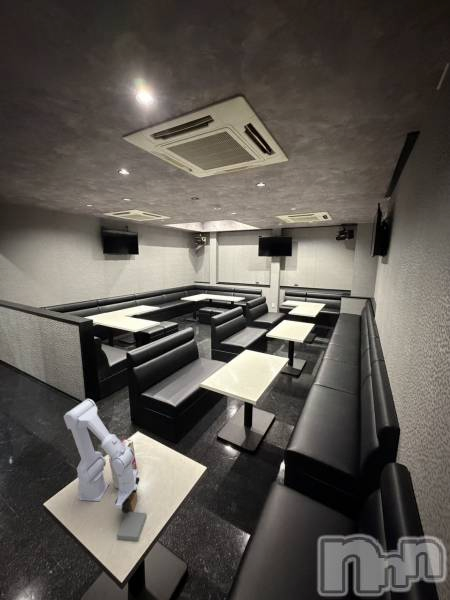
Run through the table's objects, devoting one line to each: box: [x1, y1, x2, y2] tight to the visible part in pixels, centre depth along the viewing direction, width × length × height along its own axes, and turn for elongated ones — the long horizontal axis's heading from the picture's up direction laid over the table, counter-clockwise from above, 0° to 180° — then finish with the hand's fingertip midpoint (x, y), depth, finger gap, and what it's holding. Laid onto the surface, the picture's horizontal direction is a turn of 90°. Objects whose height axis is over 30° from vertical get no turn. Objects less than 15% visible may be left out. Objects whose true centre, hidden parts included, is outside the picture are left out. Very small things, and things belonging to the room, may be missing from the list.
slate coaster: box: [116, 511, 147, 542], centre depth 91 cm, size 8×8×3 cm
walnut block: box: [121, 492, 138, 513], centre depth 98 cm, size 4×4×5 cm
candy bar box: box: [108, 439, 138, 490], centre depth 109 cm, size 11×5×16 cm, turn 168°
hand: (130, 503), depth 98 cm, fingers open, 6 cm apart
